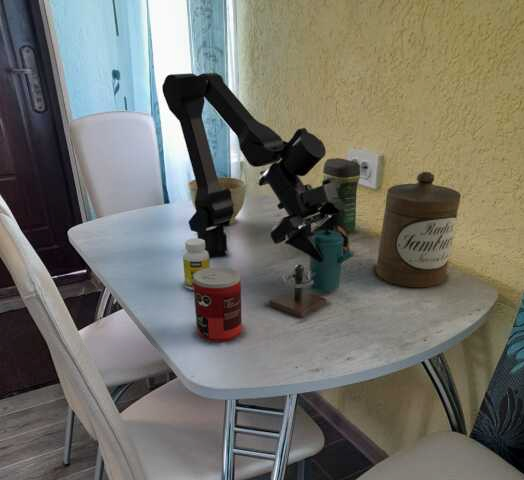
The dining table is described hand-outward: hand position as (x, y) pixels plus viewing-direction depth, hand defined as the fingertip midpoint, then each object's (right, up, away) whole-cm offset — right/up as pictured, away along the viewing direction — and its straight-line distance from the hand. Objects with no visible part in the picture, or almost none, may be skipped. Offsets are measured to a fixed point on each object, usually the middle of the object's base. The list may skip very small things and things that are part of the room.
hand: (331, 256), depth 101 cm
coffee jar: (+7, +14, +39) cm, 42 cm away
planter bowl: (-26, +18, +45) cm, 55 cm away
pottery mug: (+3, +6, +25) cm, 26 cm away
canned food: (-21, -16, -10) cm, 29 cm away
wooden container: (+19, -2, +12) cm, 23 cm away
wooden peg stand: (-7, -10, -1) cm, 12 cm away
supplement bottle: (-28, -5, +7) cm, 29 cm away
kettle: (-3, -7, +1) cm, 8 cm away
